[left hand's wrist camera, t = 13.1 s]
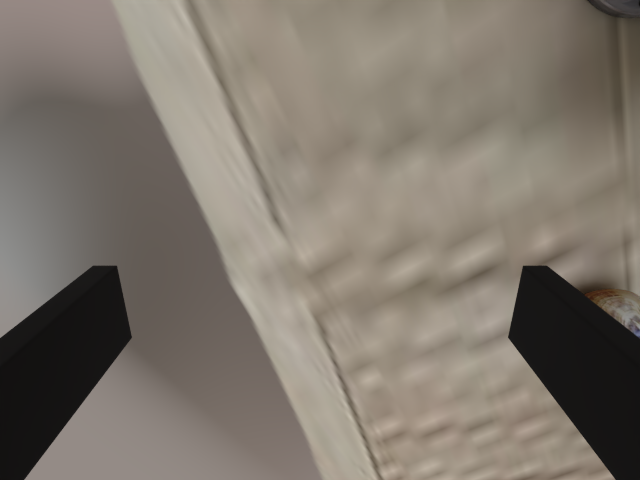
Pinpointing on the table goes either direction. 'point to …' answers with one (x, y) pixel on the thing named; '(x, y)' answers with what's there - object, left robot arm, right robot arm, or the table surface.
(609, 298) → the seashell
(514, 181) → the table surface
